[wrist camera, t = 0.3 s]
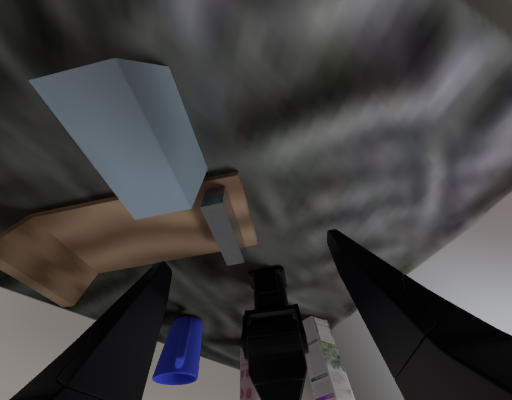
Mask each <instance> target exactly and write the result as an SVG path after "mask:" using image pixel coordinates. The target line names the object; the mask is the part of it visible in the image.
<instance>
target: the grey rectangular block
mask: <svg viewBox="0 0 512 400" xmlns="http://www.w3.org/2000/svg"><path fill="white" fill-rule="evenodd" d="M200 209H201V211H202V213H203V215H204V217H205V219H206V221H207V224H208V226H209V228H210V230H211V232H212V234H213V236H214V238H215V241H216V243H217V245H218V247H219V249H220V251H221V253H222V255H223V258H224V260H225V262H226V264H227V266H229V265H235V264H241V263H245V242H244V239H243V236H242V234H241V231H240V228H239V225H238V222H237V219H236V216H235V213H234V210H233V207H232V204H231V201H230V198H229V195H228V192H227V189H226V187H225V186H223V187H218V188H213V189H208V190H206V191H205V194H204V197H203V200H202V203H201V206H200Z"/></svg>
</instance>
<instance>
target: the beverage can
mask: <svg viewBox="0 0 512 400" xmlns="http://www.w3.org/2000/svg"><path fill="white" fill-rule="evenodd" d="M240 400H260V398H259V395H258V393H257V391H256V389H255V387H254V385H253V383H252V381H251V379H250V376H249V372H248V361H245V358H244V353H243V350H242V349H240Z"/></svg>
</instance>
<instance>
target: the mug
mask: <svg viewBox="0 0 512 400" xmlns="http://www.w3.org/2000/svg"><path fill="white" fill-rule="evenodd" d="M202 330H203V325H202V321H201V320H200V319H198V318H196V317H193V316H183V317H179V318H177V319H176V320H175V321H174V322H173V324H172V326H171V328H170V331H169V334H168V336H167V339H166V342H165V345H164V347H163V350H162V353H161V355H160V358H159V361H158V364H157V366H156V369H155V372H154V375H153V378H152V379H153V381H155V382H157V383H160V384H166V385H183V384H189V383H192V382H194V381H196V380H197V378H198V370H199V360H200V350H201V340H202Z"/></svg>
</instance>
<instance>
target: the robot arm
mask: <svg viewBox="0 0 512 400" xmlns="http://www.w3.org/2000/svg"><path fill="white" fill-rule="evenodd" d="M327 243H328V247H329V249H330V252H331V254H332V257H333V260H334V262H335V265H336V267H337V270H338V272H339V274H340V276H341V278H342V280H343V282H344V284H345V286H346V288H347V290H348V292H349V294H350V295H351V297H352V299H353V301H354V303H355V305H356V307H357V309H358V311H359V313H360V315H361V316H362V318H363V320H364V322H365V324H366V326H367V328H368V330H369V332H370V333H371V336H372V337H373V339H374V341H375V343H376V345H377V347H378V349H379V351H380V353H381V355H382V357H383V358H384V360H385V362H386V364H387V366H388V368H389V370H390V372H391V374H392V376H393V378H395V382H396V384H397V385H398V387H399V389H400V391H401V393H402V395H403V397H404V399H405V400H512V336H511V335H509V334H507V333H505V332H503V331H501V330H499V329H497V328H495V327H493V326H491V325H490V324H488V323H486V322H484V321H482V320H481V319H479V318H477V317H475V316H474V315H472V314H470V313H468V312H467V311H465V310H463V309H461V308H459V307H458V306H456V305H454V304H452V303H451V302H449V301H447V300H445V299H444V298H442V297H440V296H438V295H437V294H435V293H433V292H432V291H430V290H428V289H426V288H425V287H423V286H422V285H420V284H419V283H417V282H416V281H414V280H413V279H411V278H409V277H408V276H407V275H405V274H404V275H403V273H402V272H400V271H399V270H397V269H396V268H394V267H393V266H391V265H390V264H388V263H387V262H385V261H384V260H382V259H381V258H379V257H378V256H376V255H374V254H373V253H371V252H370V251H368V250H367V249H365V248H364V247H362V246H361V245H359V244H358V243H356V242H355V241H353V240H352V239H350V238H349V237H347V236H346V235H344V234H343V233H341V232H340V231H338V230H336V229H332V230H328V232H327ZM171 277H172V270H171V268H170V267H169V266H168V264H167V263H166V262H165V261H161V262H157V263H155V264H154V265H153V266H152V267H151V268H150V269H149V270H148V271H147V272H146V273H145V274H144V275H143V276H142V277H141V278H140V279H139V280H138V281H137V282H136V283H135V284H134V285H133V286H132V287H131V288H130V289H129V290H128V291H127V292H125V293H124V294H123V295H122V296H121V297H120V298H119V299H118V300H117V301H116V302H115V303H114V304H113V305H112V306H111V307H110V308H109V309H108V310H107V311H106V312H105V313H104V314H103V315H102V316H101V317H100V318H99V319H98V320H97V321H96V322H94V323H93V324H92V326H91V327H89V328H88V329H87V330H86V331H85V332H84V333H83V334H82V335H81V336H80V337H79V338H78V339H77V340H76V341H75V342H74V343H73V344H72V345H70V346H69V347H68V348H67V349H66V350H65V351H64V352H63V353H62V354H61V355H60V356H58V357H57V358H56V359H55V360H54V361H53V362H52V363H51V364H49V365H48V366H47V367H46V368H45V369H44V370H43V371H42V372H41V373H39V374H38V375H37V376H36V377H35V378H34V379H33V380H31V382H29V383H28V384H27V385H26V386H25V387H24V388H22V389H21V390H20V391H19V392H18V393H17V394H16V395H14V396H13V397H12V398H11V399H10V400H142V396H143V392H144V388H145V384H146V381H147V377H148V373H149V369H150V366H151V362H152V358H153V354H154V351H155V347H156V343H157V339H158V336H159V332H160V328H161V324H162V321H163V317H164V313H165V309H166V305H167V301H168V296H169V290H170V284H171ZM249 278H250V281H251V283H252V286H253V289H254V304H255V310H250V311H248V310H245V315H244V316H243V329H242V335H241V341H240V348H241V349H242V350H243V353H244V358H245V361H248V372H249V376H250V379H251V381H252V383H253V385H254V387H255V389H256V391H257V393H258V395H259V398H260V400H301V398H302V393H303V388H304V383H305V378H306V373H307V362H306V357H305V354H309V348H308V343H307V338H306V333H305V329H304V325H303V322H302V318H301V315H300V311H299V307H298V304H294V305H288V299H287V294H286V289H285V288H286V287H287V284H286V278H285V273H284V268H283V267H276V268H270V269H264V270H258V271H252V272H249Z"/></svg>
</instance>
